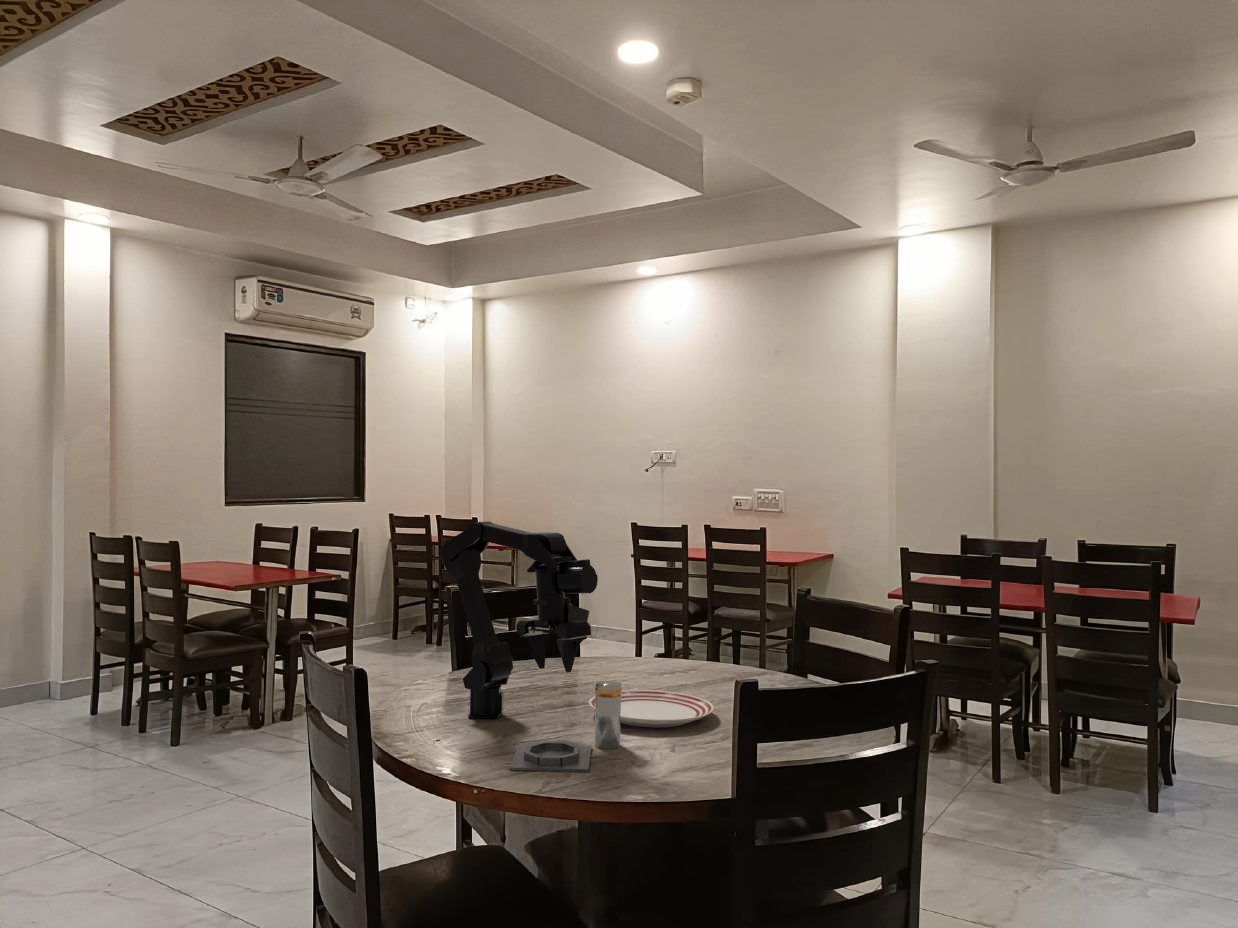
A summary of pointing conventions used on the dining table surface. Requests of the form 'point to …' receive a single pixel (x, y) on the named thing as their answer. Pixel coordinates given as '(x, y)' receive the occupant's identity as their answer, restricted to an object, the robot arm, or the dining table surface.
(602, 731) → the grey cylindrical piece
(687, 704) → the dinner plate
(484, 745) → the dining table surface
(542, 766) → the flange
